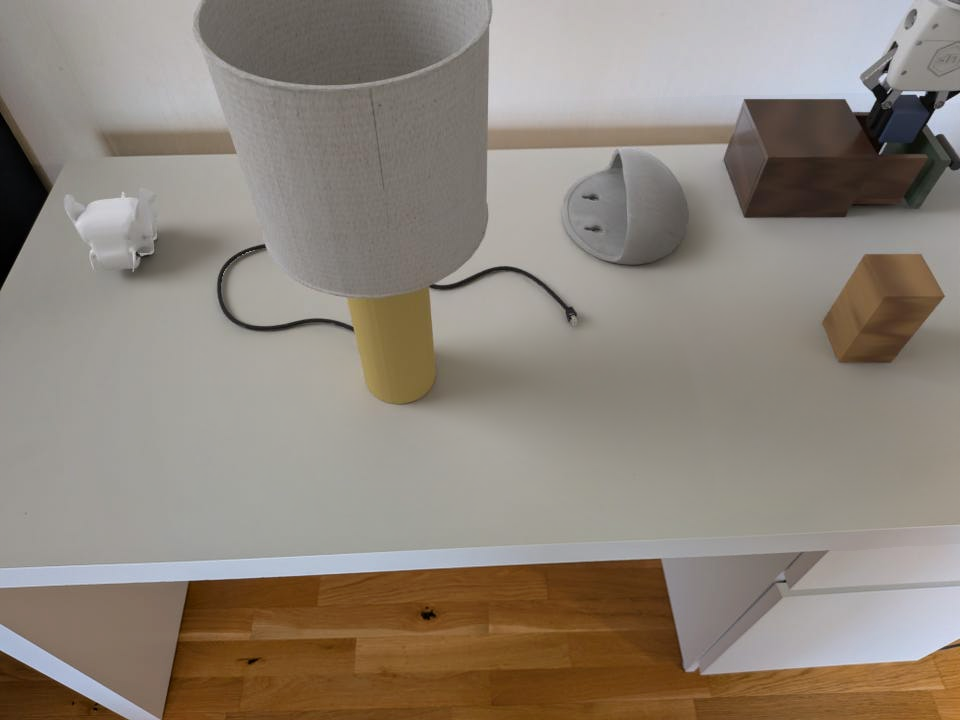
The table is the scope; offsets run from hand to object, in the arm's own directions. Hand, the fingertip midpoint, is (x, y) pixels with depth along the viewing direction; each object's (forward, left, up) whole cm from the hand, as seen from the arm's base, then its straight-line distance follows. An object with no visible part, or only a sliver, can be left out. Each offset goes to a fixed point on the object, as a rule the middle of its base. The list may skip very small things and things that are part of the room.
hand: (891, 129), depth 87 cm
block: (0, 0, -1) cm, 1 cm away
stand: (-11, +27, -9) cm, 31 cm away
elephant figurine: (+64, +74, -9) cm, 99 cm away
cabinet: (+8, +7, -9) cm, 14 cm away
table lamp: (+31, +60, -9) cm, 68 cm away
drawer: (-1, -1, -8) cm, 8 cm away
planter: (+21, +27, -9) cm, 36 cm away
